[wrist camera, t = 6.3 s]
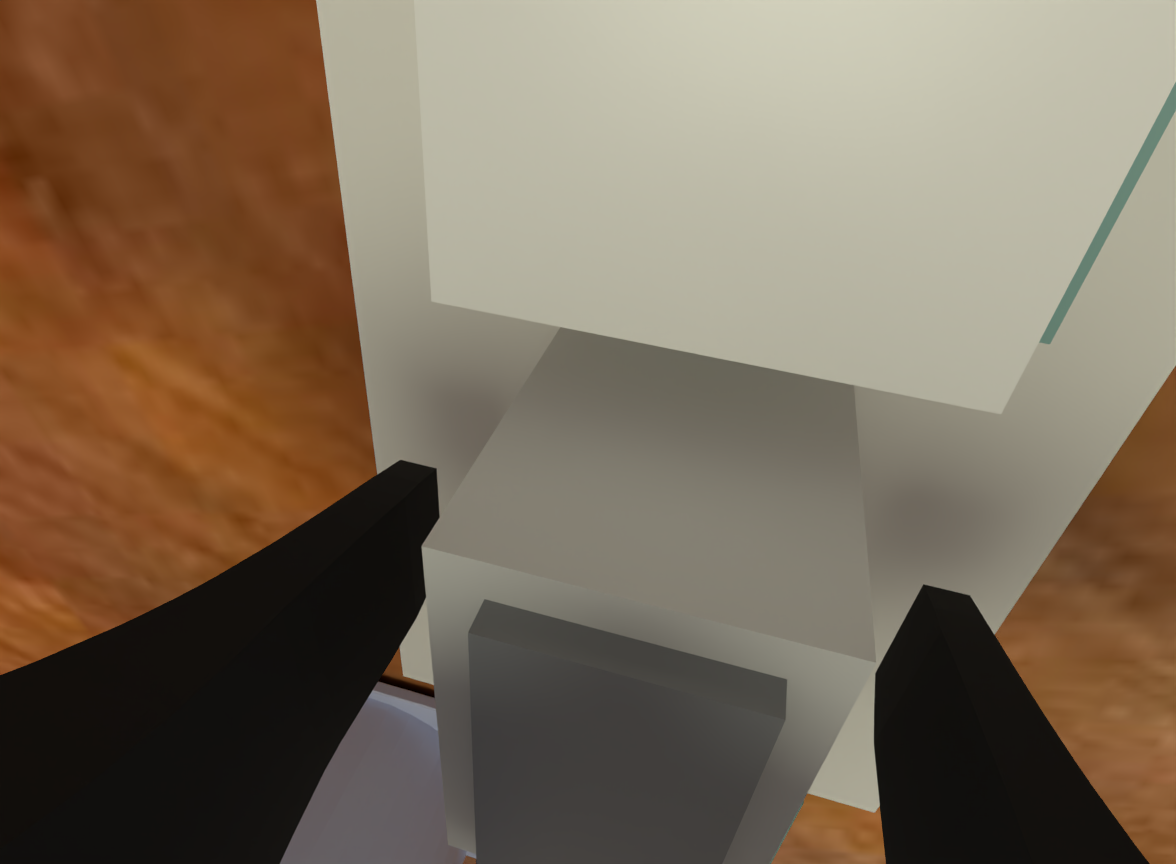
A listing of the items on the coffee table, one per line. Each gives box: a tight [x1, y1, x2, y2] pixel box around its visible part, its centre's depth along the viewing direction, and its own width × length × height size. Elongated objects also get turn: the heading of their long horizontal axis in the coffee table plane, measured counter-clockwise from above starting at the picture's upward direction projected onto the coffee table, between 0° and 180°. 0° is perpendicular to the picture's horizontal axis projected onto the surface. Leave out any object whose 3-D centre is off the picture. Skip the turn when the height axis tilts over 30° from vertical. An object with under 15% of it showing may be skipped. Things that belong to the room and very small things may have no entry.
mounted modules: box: [414, 0, 1176, 864], centre depth 11 cm, size 18×6×4 cm, turn 175°
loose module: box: [421, 327, 876, 864], centre depth 10 cm, size 6×4×6 cm, turn 175°
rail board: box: [316, 0, 1176, 813], centre depth 13 cm, size 20×13×2 cm, turn 175°
